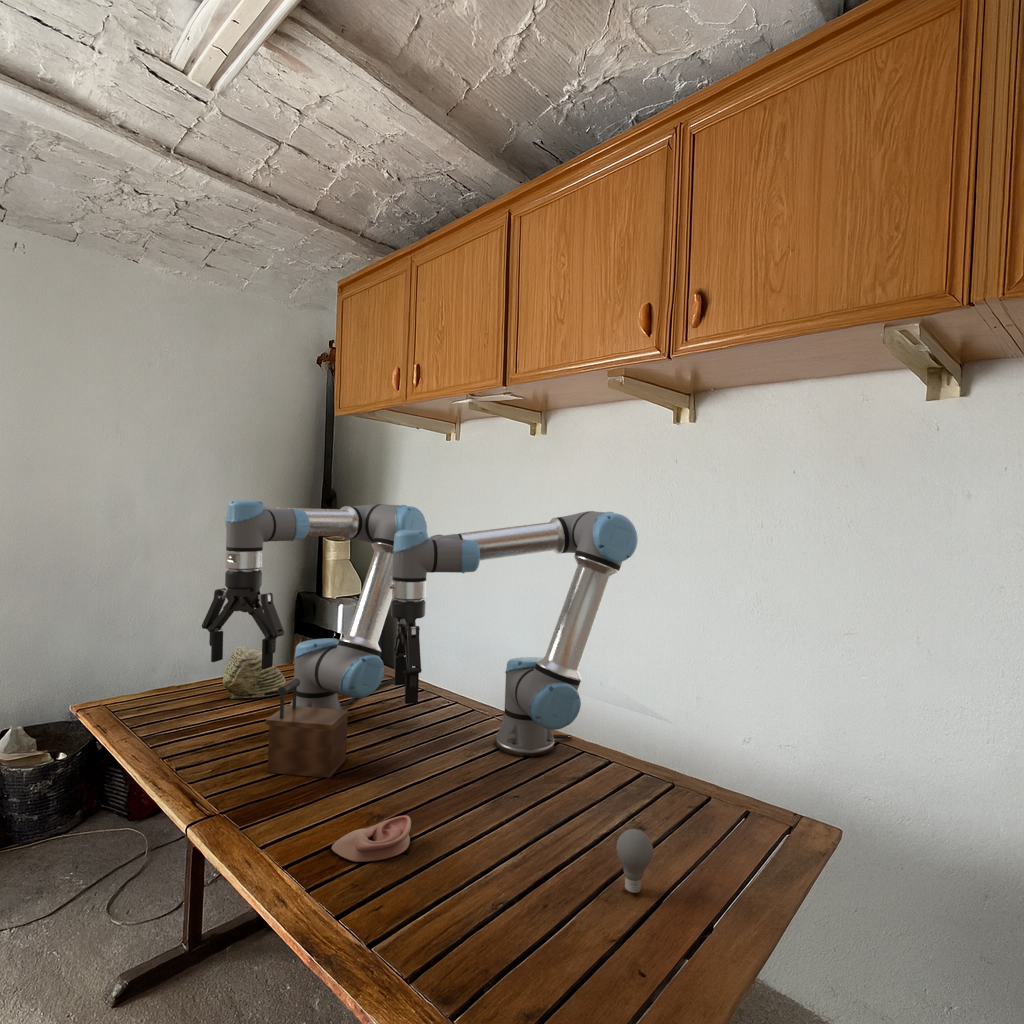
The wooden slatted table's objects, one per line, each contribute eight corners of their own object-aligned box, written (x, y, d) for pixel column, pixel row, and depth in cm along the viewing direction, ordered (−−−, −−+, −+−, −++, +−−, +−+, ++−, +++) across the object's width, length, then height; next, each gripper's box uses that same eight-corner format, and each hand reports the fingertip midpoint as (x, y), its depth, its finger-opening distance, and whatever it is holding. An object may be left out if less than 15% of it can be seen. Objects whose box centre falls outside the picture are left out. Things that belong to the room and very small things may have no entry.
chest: (267, 772, 144) (269, 725, 144) (287, 755, 154) (289, 710, 154) (330, 778, 143) (331, 730, 142) (346, 759, 153) (347, 714, 153)
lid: (265, 724, 144) (266, 687, 144) (285, 710, 154) (286, 675, 154) (331, 729, 142) (333, 692, 142) (347, 714, 153) (349, 679, 152)
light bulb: (610, 879, 108) (613, 822, 108) (644, 879, 109) (647, 822, 109) (619, 902, 102) (622, 840, 102) (655, 901, 103) (658, 840, 103)
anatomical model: (323, 834, 111) (353, 804, 123) (323, 856, 111) (352, 824, 123) (394, 845, 109) (418, 814, 120) (393, 868, 109) (417, 834, 120)
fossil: (218, 695, 195) (220, 647, 195) (278, 685, 208) (279, 640, 207) (228, 703, 189) (230, 653, 188) (289, 692, 201) (290, 645, 201)
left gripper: (185, 567, 141) (183, 661, 142) (280, 575, 133) (277, 675, 134) (211, 564, 148) (209, 654, 149) (302, 571, 141) (299, 666, 141)
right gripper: (383, 591, 152) (380, 678, 152) (401, 609, 128) (398, 713, 129) (414, 590, 154) (411, 677, 155) (437, 608, 131) (434, 710, 131)
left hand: (241, 664), depth 141 cm, fingers open, 13 cm apart
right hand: (405, 693), depth 142 cm, fingers open, 13 cm apart
